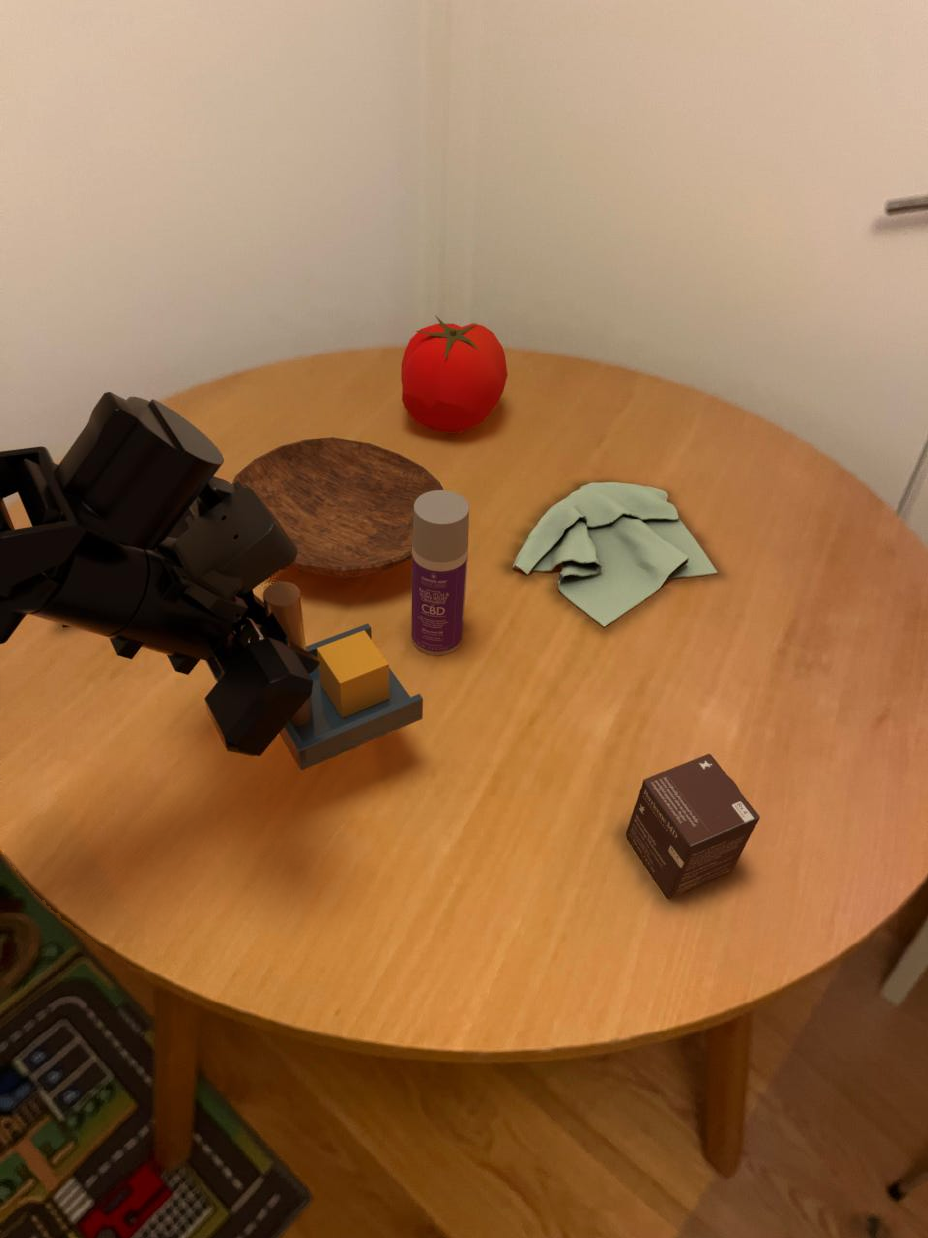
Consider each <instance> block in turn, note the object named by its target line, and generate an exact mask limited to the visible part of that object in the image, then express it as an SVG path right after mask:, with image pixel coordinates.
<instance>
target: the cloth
mask: <svg viewBox="0 0 928 1238" xmlns="http://www.w3.org/2000/svg"><path fill="white" fill-rule="evenodd" d="M668 496H669V493H668V492H667V491H665V490H663V489H661V488H658V487H653V486H649V485H641V484H638V483H630V482H629V483H627V482H617V481H607V482H606V481H603V482H596V481H595V482H593V481H591V482H587V483H585V484H583V485H580V486H579V489H577V490H575V491H573V492H571V493H569V495H568V496H566V497H565V498H563V499H561V500H560V501H558V502H557V503H555V504H553V505H552V506H551V507H550V508H549V509H548V510H547V511H546V512H545V513H544V515H543V516H542V517H541V518H540V520H538V522H537V523H536V525H535V526H534V528H533V529H532V530H531V531H530V533H529V534H528V536H527V537H526V539H525V541H524V543H523V545H522V547H521V549H520V551H519V552H518V554H517V555H516V558H515V560H514V563H513V564H512V569H516V570H521V571H523V573H524V574H526V575H527V576H528V575H529V574H530V572H531V571H532V572H540V573H545V572H552V571H553V570H554V569H555V567H556V566H557V565H559V564H561V566H560V567H559V568H560V570H561V571H560V572H559V574H558V575H559V578H558V580H557V585H558V591H559V592H560V593H561V595H562V596H563V597H564V598H565V599H567V600H568V601H570V602H571V603H572V604H573V605H574V606H576V607H577V608H578V609H580V610H581V611H582V612H583V613H585V614H586V615H587V616H588V617H590V618H591V619H592V620H593V621H595V622H596V623H598V624H599V625H600V626H602V627H603V628H605V627H607V626H608V625H610V624H611V623H613V622H614V621H615V622H616V620H618V619H619V618H620V617H622V616H623V615H625V614H626V613H627V612H629V611H631V610H633V609H634V608H635V607H637V606H638V605H640V604H641V603H643V602H644V601H645V600H646V599H648V598H650V597H651V596H653V595H654V594H655V593H656V592H657V591H660V589H662V586H663V585H664V584H665V582H666V581H667V580H672V579H673V580H674V579H680V578H694V577H701V576H703V577H704V576H710V575H717V574H718V571H717V569H716V568H715V566H714V565H713V563H712V562H711V561H710V559H709V557H708V556H707V554H706V553H705V551H704V550H703V548H702V547H701V546H700V545H699V543H698V541H697V540H696V538H695V537H694V536H693V534H692V533H691V532H690V531H689V529H688V528H687V527H686V525H685V524H684V522H683V521H681V519H680V516H679V513H678V511H677V508H676V506H675V505H674V504H673V503H671V502H669V501H668Z"/></svg>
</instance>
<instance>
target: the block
mask: <svg viewBox="0 0 928 1238" xmlns="http://www.w3.org/2000/svg"><path fill="white" fill-rule="evenodd" d="M317 657H318V659H319V660H320V664H319V666H318V667H319V678H320V684H321V686H322V687H323V689H324V690H325V692H326V694H327V695H328V697H329V698H330V700H331V701H332V703H333V705H334V706H335V708H336V709H337V711H338V712H339V714H340V715H341V717H342V718H344V717H347V716H349V715H352V714H354V713H356V712H359V711H361V710H364V709H366V708H369V707H371V706H373V705H376V704H378V703H381V702H383V701H385V700H388V699H389V668H390V664H389V662H388V660H387V659H386V658H385V656H384V655H383V653H382V652H381V650H380V649H379V648H378V647H377V645H376V644H375V643H374V641H373V639H372V640H371V638H370V637H369V636H368V634H367V633H366V631H365V630H364V631H361V632H358V633H356V634H353V635H350V636H348V637H345V638H342V639H340V640H337V641H334V642H332V643H329V644H326V645H324V646H321V647H318V648H317Z"/></svg>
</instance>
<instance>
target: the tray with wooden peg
mask: <svg viewBox="0 0 928 1238" xmlns="http://www.w3.org/2000/svg"><path fill="white" fill-rule="evenodd" d="M262 601H263V602H264V608H265V615H266V618H267V617H268V616H269V614H270V613H271V612H273V614H274V615H275V617H276V618H277V620H278V622H279V623H280V625H281V626H282V628H283V629H284V631H285V633H286V634H287V636H288V638H289V642H291V643H293V644H295V645H297V646H299V647H301V648H302V649H304V650H306V651H308V652H309V653H311V654H312V655H314V656H316V657H317V648H318V647H321V646H324V645H326V644H329V643H332V642H334V641H337V640H340V639H342V638H345V637H348V636H350V635H353V634H356V633H358V632H361V631H364V630H365V631H366V633H367V634H368V636H369V637H370V638H371V640H372V641H373V638H372V637H373V634H372V626H371V625H370V624H369V623H365V624H363V625H360V626H356V627H354V628H351V629H349V630H347V631H345V632H340V633H339V634H336V635H333V636H330V637H328V638H325V639H323V640H319V641H317V642H313V643H312V644H309V645H306V636H305V625H304V617H303V608H302V606H303V605H302V597H301V591H300V588H299V587H298V586H297V585H296V584H295V583H293V582H289V581H277V582H276V581H275V582H273V583H271V584H269V585H268V586H267V587H266V588H265V589H264V591H263V592H262ZM317 658H318V657H317ZM309 675H310V677H311V678H312V680H313V689H312V695H311V696H310V697H309V698H308V700H307V701H306V702H305V703H304V704H303V706H302V707H301V708H300V709H299V710H298V711H297V713H296V714H295V715H294V716H293V717H292V719H291V720H290V721H289V722H288V723H287V725H286V726H285V727H284V728H283V729H282V730H281V732H280V733H279V734H278V735H279V736H280V738H281V739H282V741H283V742H284V744H285V746H286V748H287V749H288V751H289V753H290V755H291V756H292V758H293V760H294V762H295V763H296V765H297V767H298V768H299V771H301V772H303V771H305V770H308V769H309V768H312V767H315V766H316V765H317V766H318V765H319V764H321V763H323V762H326V761H328V760H331V759H333V758H336V757H337V756H340V755H342V754H344V753H346V752H349V751H351V750H354V749H356V748H358V747H361V746H362V745H365V744H367V743H370V742H372V741H375V740H377V739H379V738H382V737H384V736H386V735H388V734H391V733H392V732H395V731H398V730H400V729H402V728H404V727H405V728H406V727H407V726H409V725H411V724H412V725H413V724H414V723H416V722H419V721H420V720H423V718H424V717H423V716H424V715H423V714H424V713H423V712H424V698H423V696H422V695H421V694H420V693H418V694H415V695H412V696H411V695H410V694H409V693H408V692H407V690H406V688H405V687H404V686H403V684H402V683H401V682H400V680H399V679H398V677H397V676H396V675H395V673H394V672H393V670H392V669H391V668H390V667H389V699H388V700H385V701H383V702H381V703H378V704H376V705H373V706H371V707H369V708H366V709H364V710H361V711H359V712H356V713H354V714H352V715H349V716H347V717H344V718H342V717H341V715H340V714H339V712H338V711H337V709H336V708H335V706H334V705H333V703H332V701H331V700H330V698H329V697H328V695H327V694H326V692H325V690H324V689H323V687H322V686H321V684H320V678H319V667H317V668H316V669H315V670H314V671H313V672H312V673H309Z"/></svg>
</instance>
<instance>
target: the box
mask: <svg viewBox="0 0 928 1238" xmlns="http://www.w3.org/2000/svg"><path fill="white" fill-rule="evenodd" d="M760 819H761V816H760V815H759V813H758V812H757V811H756V810H755V808H754V807H753V805H752V804H751V803H750V801H748V799H747V798H746V797H745V795H744V794H743V793H742V791H741V790H740V788H739V786H738V785H737V783H736V782H735V780H733V778H731V777H730V776H729V774H727V773H726V772H725V770H724V769H723V768H722V767H721V766H720V764H719V763H718V761H717V760H716V759H715V758H714V757H713V755H712V753H706V754H704V755H702V756H699V757H697V758H694V759H692V760H689V761H687V762H684V763H682V764H679V765H677V766H674V767H671V768H669V769H667V770H666V769H665V770H663V771H661V772H658V773H656V774H654V775H651V776H649V777H645V778H644V779H643V780H642V783H641V787H640V789H639V792H638V795H637V799H636V802H635V804H634V807H633V811H632V814H631V816H630V819H629V823H628V825H627V829H626V831H625V834H626V838H627V839H628V841H629V842H630V844H631V846H632V847H633V849H634V850H635V852H636V853H637V855H638V856H639V858H640V859H641V861H642V862H643V864H644V866H645V867H646V868H647V870H648V872H649V873H650V874H651V877H652V878H653V879H654V880H655V882H656V883H657V884H658V886H659V887H660V889H661V890H662V892H663V893H664V895H665V896H666V897H667V898H670V899H671V898H673V897H676V896H678V895H680V894H682V893H685V892H686V891H689V890H690V889H693V888H695V887H697V886H699V885H701V884H703V883H706V882H708V881H710V880H713V879H715V878H717V877H719V876H722V875H723V874H726V873H728V872H730V871H732V870H733V869H734V868H735V866H736V865H737V863H738V861H739V858H740V857H741V855H742V853H743V851H744V849H745V847H746V845H747V844H748V841H749V840H750V838H751V836H752V834H753V832H754V830H755V829H756V825H757V824H758V822H759V821H760Z"/></svg>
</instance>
